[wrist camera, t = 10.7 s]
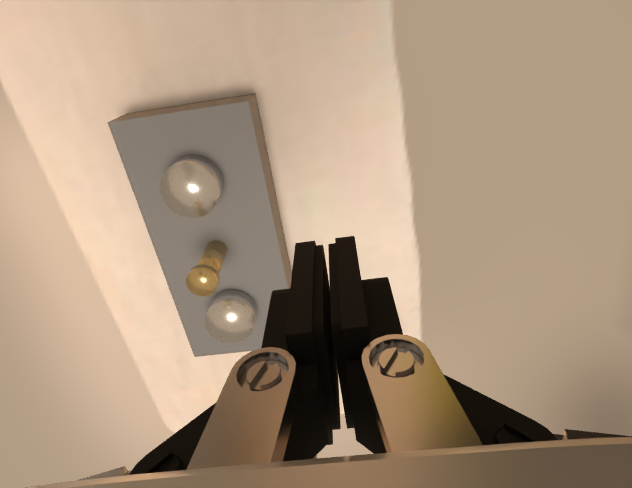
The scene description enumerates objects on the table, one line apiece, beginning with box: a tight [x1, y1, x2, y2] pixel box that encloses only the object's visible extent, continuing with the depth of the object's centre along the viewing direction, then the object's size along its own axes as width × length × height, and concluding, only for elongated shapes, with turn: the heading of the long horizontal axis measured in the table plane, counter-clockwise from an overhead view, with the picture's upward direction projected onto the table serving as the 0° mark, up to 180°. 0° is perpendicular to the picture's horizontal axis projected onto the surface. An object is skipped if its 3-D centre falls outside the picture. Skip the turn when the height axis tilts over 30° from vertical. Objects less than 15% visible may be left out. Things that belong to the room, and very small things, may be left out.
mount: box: [108, 94, 292, 357], centre depth 42 cm, size 26×12×4 cm, turn 8°
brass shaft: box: [186, 240, 228, 297], centre depth 37 cm, size 3×3×6 cm
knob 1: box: [160, 155, 224, 218], centre depth 37 cm, size 5×5×6 cm
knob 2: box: [205, 290, 257, 343], centre depth 44 cm, size 5×5×6 cm
